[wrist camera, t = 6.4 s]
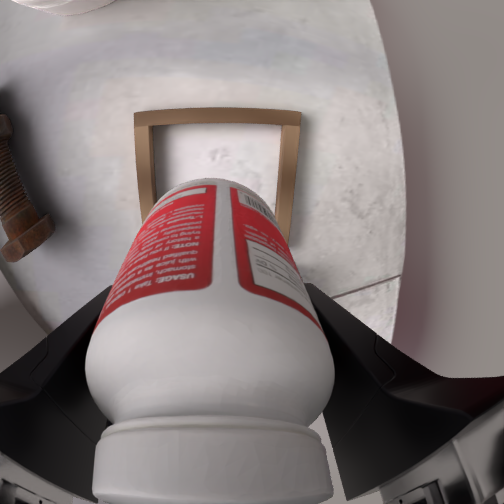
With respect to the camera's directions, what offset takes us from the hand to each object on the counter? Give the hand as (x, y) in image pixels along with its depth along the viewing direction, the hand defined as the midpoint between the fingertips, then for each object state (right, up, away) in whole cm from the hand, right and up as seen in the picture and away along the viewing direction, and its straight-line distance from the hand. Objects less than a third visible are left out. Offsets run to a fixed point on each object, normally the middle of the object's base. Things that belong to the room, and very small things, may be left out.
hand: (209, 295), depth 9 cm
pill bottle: (0, +2, +4) cm, 4 cm away
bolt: (-19, +9, +7) cm, 22 cm away
